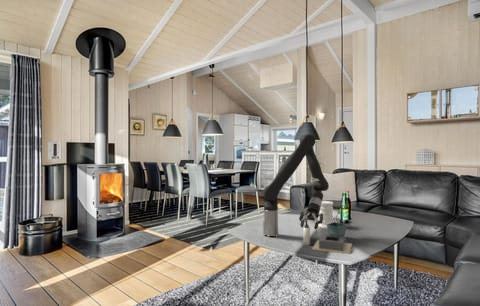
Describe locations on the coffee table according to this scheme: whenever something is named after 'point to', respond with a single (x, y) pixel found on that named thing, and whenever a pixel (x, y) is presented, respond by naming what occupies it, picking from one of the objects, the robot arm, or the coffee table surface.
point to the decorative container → (326, 213)
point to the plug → (306, 234)
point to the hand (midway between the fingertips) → (308, 227)
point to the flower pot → (336, 229)
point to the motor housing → (332, 244)
